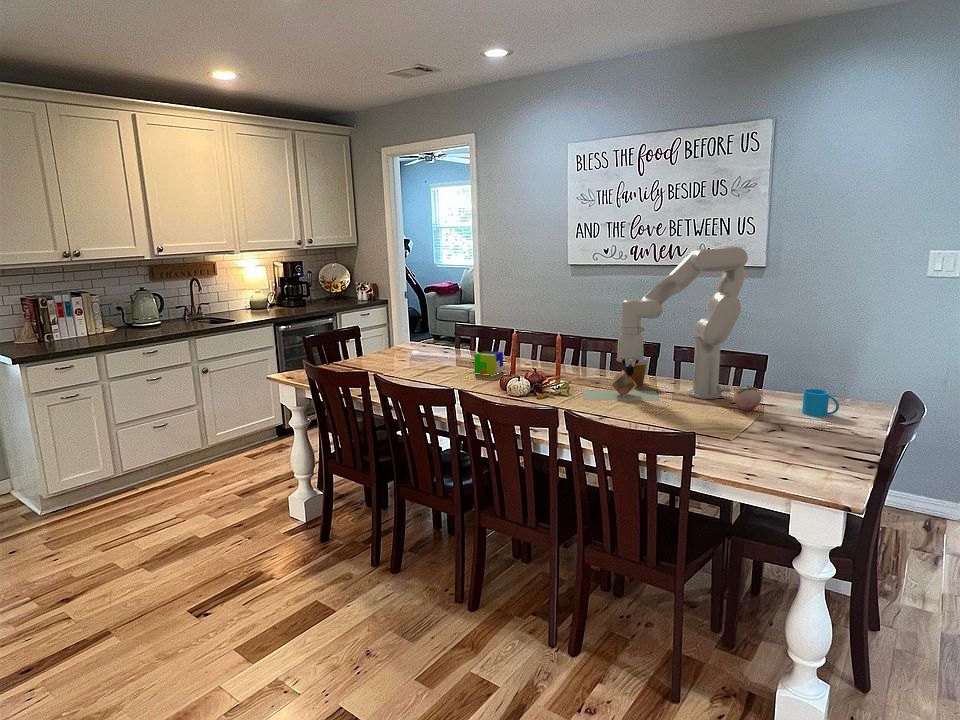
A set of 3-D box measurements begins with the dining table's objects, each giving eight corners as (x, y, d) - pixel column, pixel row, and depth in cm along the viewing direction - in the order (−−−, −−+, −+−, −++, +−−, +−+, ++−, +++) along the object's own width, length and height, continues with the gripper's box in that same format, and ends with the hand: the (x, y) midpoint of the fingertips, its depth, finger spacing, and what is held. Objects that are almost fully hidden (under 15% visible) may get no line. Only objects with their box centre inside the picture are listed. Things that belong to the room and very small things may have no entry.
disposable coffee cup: (624, 387, 276) (624, 360, 273) (624, 382, 285) (625, 356, 283) (647, 388, 274) (647, 360, 271) (646, 383, 283) (647, 356, 280)
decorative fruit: (747, 407, 242) (749, 381, 240) (764, 412, 234) (766, 386, 232) (727, 410, 238) (729, 384, 236) (743, 416, 231) (745, 389, 229)
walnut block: (634, 382, 263) (623, 369, 263) (636, 386, 257) (624, 373, 256) (621, 393, 265) (610, 380, 265) (623, 397, 258) (611, 384, 258)
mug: (798, 413, 232) (799, 391, 231) (807, 409, 238) (809, 387, 236) (833, 420, 224) (835, 397, 222) (842, 415, 229) (844, 393, 227)
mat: (655, 392, 267) (655, 391, 267) (660, 401, 253) (660, 400, 252) (582, 391, 271) (582, 390, 271) (582, 400, 257) (582, 399, 257)
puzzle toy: (503, 372, 311) (502, 352, 309) (492, 376, 302) (492, 355, 301) (485, 370, 316) (485, 350, 314) (474, 374, 308) (474, 354, 306)
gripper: (649, 329, 259) (647, 373, 262) (611, 329, 261) (610, 373, 264) (651, 332, 251) (649, 378, 255) (612, 332, 254) (611, 377, 257)
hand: (629, 375), depth 260 cm, fingers closed
